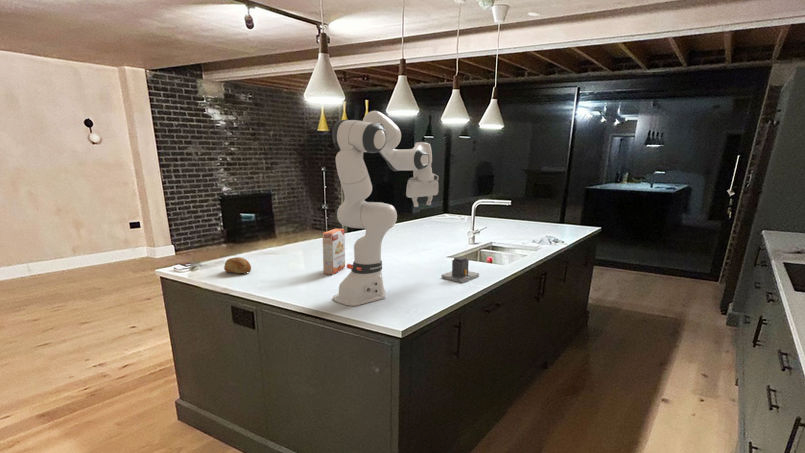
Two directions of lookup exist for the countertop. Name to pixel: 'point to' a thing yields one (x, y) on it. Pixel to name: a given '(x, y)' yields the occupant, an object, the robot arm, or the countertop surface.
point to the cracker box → (333, 251)
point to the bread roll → (237, 265)
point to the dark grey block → (460, 266)
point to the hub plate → (460, 279)
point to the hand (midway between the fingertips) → (422, 205)
